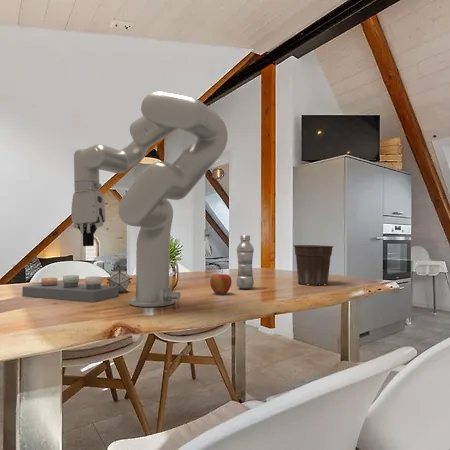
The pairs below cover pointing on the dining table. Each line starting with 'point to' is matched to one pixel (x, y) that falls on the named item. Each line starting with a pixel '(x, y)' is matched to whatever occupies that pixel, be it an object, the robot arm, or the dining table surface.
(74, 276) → the sage button
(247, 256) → the plastic bottle
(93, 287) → the cream button
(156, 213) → the robot arm
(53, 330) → the dining table surface
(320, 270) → the plant pot
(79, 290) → the board
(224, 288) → the apple
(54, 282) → the terracotta button
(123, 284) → the game die
